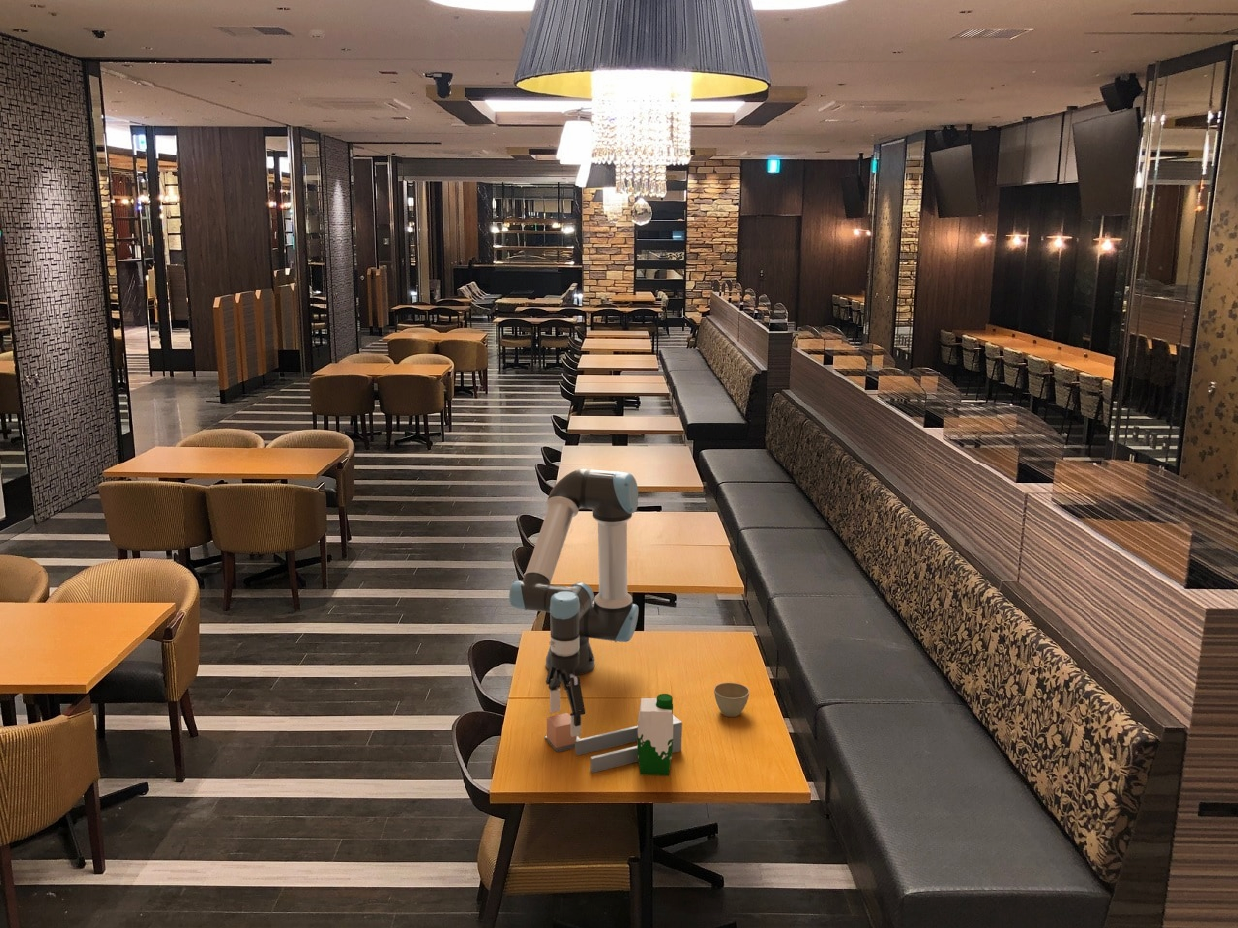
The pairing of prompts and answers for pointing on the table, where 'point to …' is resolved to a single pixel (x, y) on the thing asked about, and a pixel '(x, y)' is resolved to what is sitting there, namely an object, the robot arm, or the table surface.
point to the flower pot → (731, 698)
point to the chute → (618, 739)
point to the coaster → (562, 746)
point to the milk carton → (655, 735)
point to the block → (560, 730)
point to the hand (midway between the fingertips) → (565, 723)
